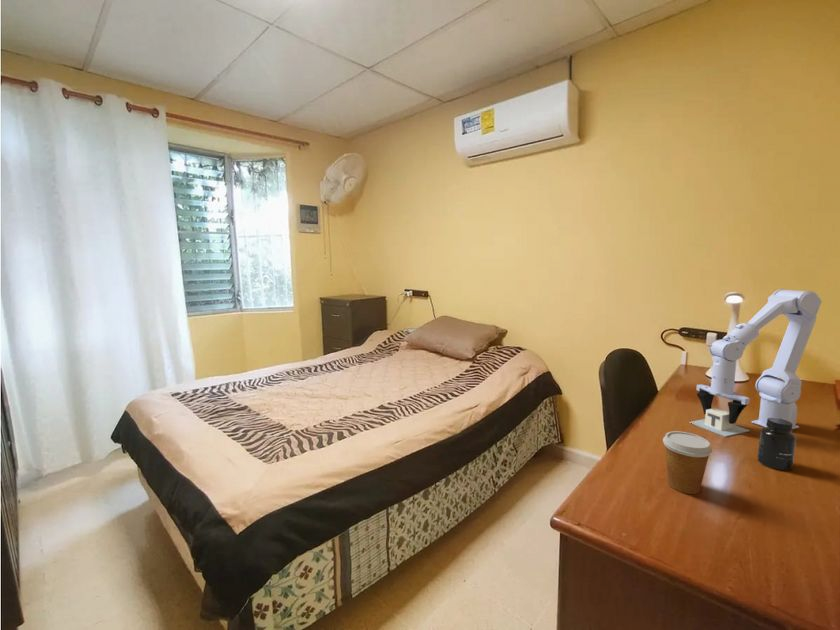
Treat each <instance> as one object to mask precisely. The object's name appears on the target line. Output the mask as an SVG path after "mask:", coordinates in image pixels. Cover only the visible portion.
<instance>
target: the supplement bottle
mask: <svg viewBox="0 0 840 630" xmlns="http://www.w3.org/2000/svg"><path fill="white" fill-rule="evenodd" d="M766 426H767V427H762V428H761V430H760V432H759V433H760V434H759V441H758V448H757V449H758V450H757V457H756V458H757V461H758V462H759V463H760V464H762V465H764V466H765V467H768V468H770V469H774V470H778V471H791V470H792V469H793V465H794V459H795V454H796V453H795V452H796V444H797V437H796V435H795V434H794V433H793V429H792V426H793V424H792V423H791V422H789V421H786V420H783V419H779V418H768V419H767V423H766Z"/></svg>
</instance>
